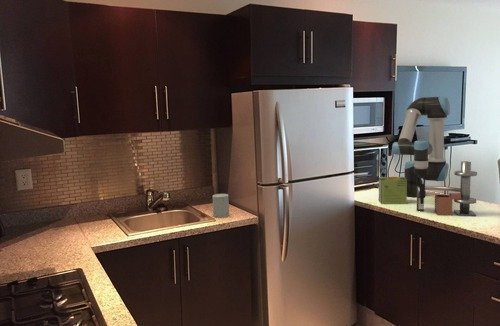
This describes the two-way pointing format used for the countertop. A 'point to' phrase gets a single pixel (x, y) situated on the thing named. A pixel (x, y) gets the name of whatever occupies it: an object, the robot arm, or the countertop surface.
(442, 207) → the post with bracket
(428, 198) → the countertop surface
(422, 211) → the dark grey cylinder
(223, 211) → the grey-green cylinder
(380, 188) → the protein box
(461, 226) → the countertop surface
